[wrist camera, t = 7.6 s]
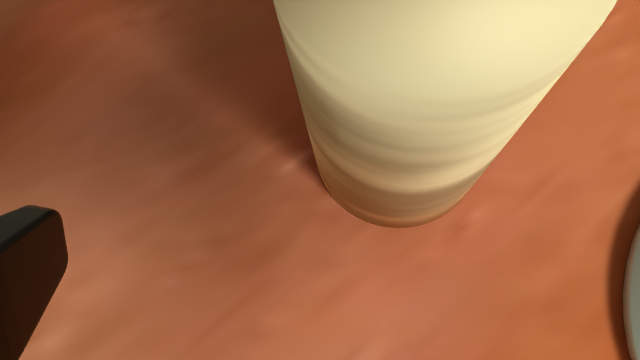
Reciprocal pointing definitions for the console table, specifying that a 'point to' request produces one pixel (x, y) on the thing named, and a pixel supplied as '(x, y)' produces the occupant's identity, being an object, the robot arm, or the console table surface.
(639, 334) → the plate
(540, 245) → the console table surface
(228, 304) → the console table surface
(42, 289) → the robot arm
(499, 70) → the birch post
